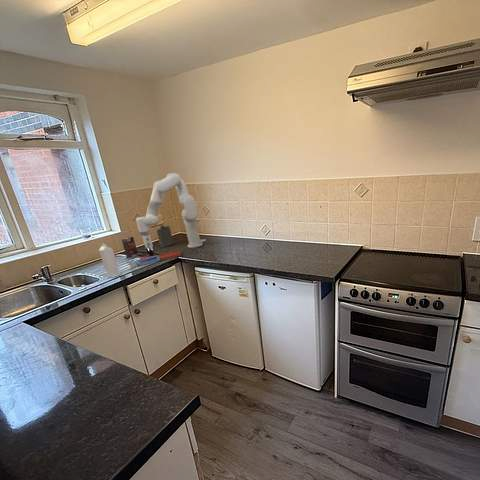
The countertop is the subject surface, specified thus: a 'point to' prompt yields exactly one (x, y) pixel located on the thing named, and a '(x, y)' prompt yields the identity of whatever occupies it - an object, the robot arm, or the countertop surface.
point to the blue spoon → (148, 259)
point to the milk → (109, 261)
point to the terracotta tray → (169, 255)
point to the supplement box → (130, 247)
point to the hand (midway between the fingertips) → (150, 254)
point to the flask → (164, 236)
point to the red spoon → (145, 256)
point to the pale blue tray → (148, 261)
